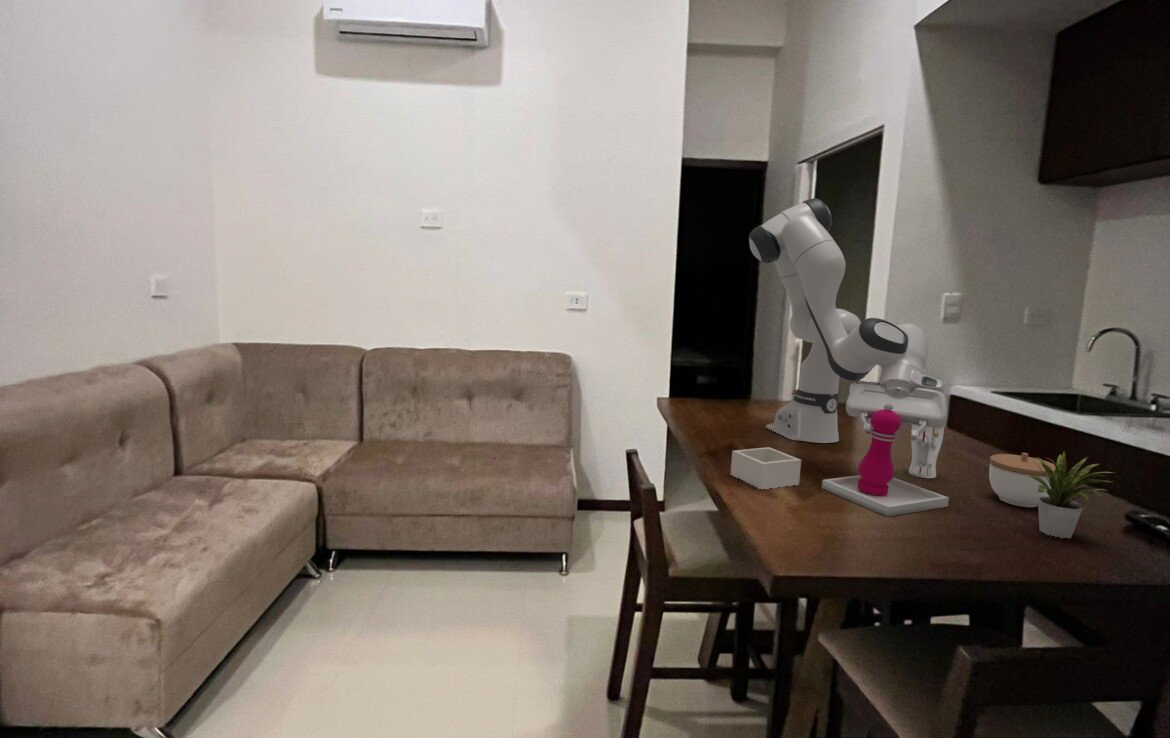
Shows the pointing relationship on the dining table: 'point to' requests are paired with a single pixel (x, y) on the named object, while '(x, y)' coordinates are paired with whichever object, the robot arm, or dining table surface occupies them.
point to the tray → (887, 496)
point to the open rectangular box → (765, 468)
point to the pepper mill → (879, 453)
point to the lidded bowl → (1017, 478)
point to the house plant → (1063, 497)
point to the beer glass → (926, 452)
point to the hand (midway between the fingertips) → (890, 435)
